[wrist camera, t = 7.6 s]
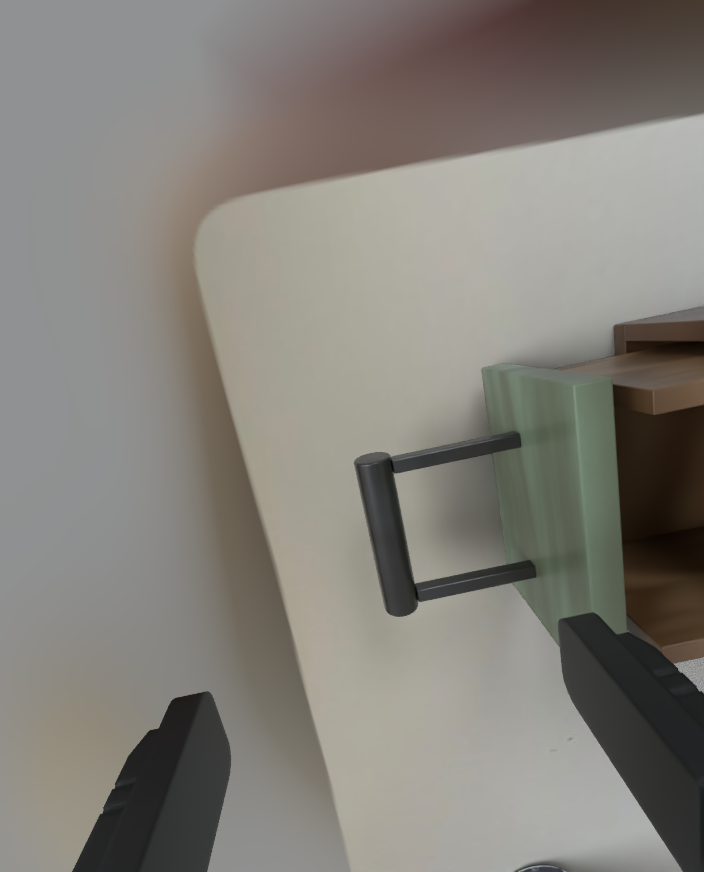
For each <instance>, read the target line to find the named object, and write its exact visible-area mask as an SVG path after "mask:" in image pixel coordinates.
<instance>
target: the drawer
mask: <svg viewBox="0 0 704 872" xmlns="http://www.w3.org/2000/svg"><path fill="white" fill-rule="evenodd" d="M481 370H482V378H483V385H484V393H485V401H486V408H487V416H488V423H489V431H490V436H487V437H482V438H478V439H473V440H468V441H463V442H459V443H454V444H449V445H444V446H440V447H435V448H430V449H425V450H421V451H416V452H411V453H406V454H402V455H397V456H392V457H390V455H389V454H388V453H384V452H375V453H370V454H366V455H363V456H360V457H359V458H357V459H356V460H355V461H354V466H355V470H356V475H357V480H358V484H359V489H360V494H361V498H362V503H363V508H364V513H365V517H366V522H367V527H368V531H369V536H370V541H371V545H372V550H373V555H374V560H375V564H376V569H377V574H378V578H379V583H380V588H381V592H382V597H383V602H384V606H385V610H386V611H387V612H388V613H389V614H390V615H392V616H396V617H402V616H407V615H409V614H411V613H413V612H414V611H415V610H416V609H417V607H418V601H419V602H422V601H427V600H432V599H437V598H441V597H446V596H451V595H456V594H461V593H465V592H470V591H475V590H480V589H484V588H489V587H494V586H499V585H504V584H508V583H513V585H514V586H515V587H516V589H517V590H518V591H519V593H520V594H521V596H522V597H523V598H524V600H525V601H526V602H527V604H528V605H529V606H530V608H531V609H532V610H533V612H534V613H535V614H536V616H537V617H538V619H539V620H540V621H541V623H542V624H543V625H544V627H545V628H546V629H547V631H548V632H549V633H550V635H551V636H552V637H553V639H554V640H555V642H556V643H557V644H558V646H559V647H560V643H559V634H558V621H559V619H562V618H567V617H571V616H576V615H581V614H586V613H590V612H594V613H596V614H597V615H599V616H600V617H601V618H602V619H603V620H604V622H605V623H606V624H607V625H608V626H609V627H610V628H611V629H612V630H613V631H614V632H615V633H616V634H621V633H626V632H627V630H628V631H629V632H630V633H631V634H633V635H635V636H636V637H638V638H640V639H642V640H644V641H645V642H647V643H649V644H651V645H653V646H654V647H656V648H657V649H658V650H659V651H660V652H661V653H662V654H663V655H664V656H665V657H666V658H667V659H668V660H670V661H671V662H672V663H678V662H683V661H688V660H693V659H697V658H702V657H704V341H683V342H679V343H674V344H669V345H664V346H660V347H655V348H650V349H645V350H641V351H636V352H631V353H626V354H622V355H617V356H612V357H607V358H603V359H598V360H593V361H588V362H584V363H579V364H574V365H569V366H565V367H560V368H555V369H545V368H538V367H530V366H523V365H515V364H507V363H502V364H498V365H493V366H488V367H483V368H482V369H481ZM491 453H492V454H493V461H494V469H495V476H496V484H497V492H498V499H499V507H500V514H501V522H502V530H503V537H504V545H505V552H506V560H507V565H502V566H497V567H492V568H488V569H483V570H478V571H473V572H468V573H464V574H459V575H454V576H449V577H445V578H440V579H435V580H430V581H425V582H421V583H416V584H415V583H414V577H413V572H412V567H411V562H410V556H409V551H408V546H407V541H406V536H405V530H404V525H403V520H402V515H401V509H400V504H399V499H398V494H397V488H396V483H395V478H394V473H401V472H406V471H410V470H415V469H420V468H425V467H430V466H434V465H439V464H444V463H449V462H453V461H458V460H463V459H468V458H472V457H477V456H482V455H487V454H491ZM393 471H394V473H393Z"/></svg>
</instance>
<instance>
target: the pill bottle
mask: <svg viewBox="0 0 704 872" xmlns="http://www.w3.org/2000/svg"><path fill="white" fill-rule="evenodd" d="M518 872H566V871H564V870H562V869H560V868H557V867H553V866H546V865H539V866H532V867H528V868H525V869H522V870H520V871H518Z"/></svg>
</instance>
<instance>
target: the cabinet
mask: <svg viewBox="0 0 704 872" xmlns="http://www.w3.org/2000/svg"><path fill="white" fill-rule="evenodd" d="M614 339H615V356H617V355H622V354H626V353H631V352H636V351H641V350H645V349H650V348H655V347H660V346H664V345H669V344H674V343H679V342H683V341H704V306H702V307H697V308H692V309H688V310H683V311H678V312H673V313H669V314H664V315H659V316H654V317H650V318H645V319H640V320H635V321H631V322H626V323H621V324H616V325H614Z"/></svg>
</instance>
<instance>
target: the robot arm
mask: <svg viewBox="0 0 704 872" xmlns="http://www.w3.org/2000/svg"><path fill="white" fill-rule="evenodd" d="M558 634H559V643H560V653H561V663H562V673H563V678H564V682H565V685H566V688H567V691H568V693H569V695H570V698H571V700H572V702H573V703H574V705H575V707H576V708H577V710H578V712H579V713H580V715H581V716H582V718H583V719H584V721H585V722H586V724H587V725H588V727H589V728H590V730H591V731H592V733H593V734H594V736H595V738H596V739H597V741H598V742H599V744H600V745H601V747H602V748H603V750H604V751H605V753H606V754H607V756H608V757H609V759H610V760H611V762H612V764H613V765H614V767H615V768H616V770H617V771H618V773H619V774H620V776H621V777H622V779H623V780H624V782H625V783H626V785H627V786H628V788H629V789H630V791H631V793H632V794H633V796H634V797H635V799H636V800H637V802H638V803H639V805H640V806H641V808H642V809H643V811H644V812H645V814H646V815H647V817H648V819H649V820H650V822H651V823H652V825H653V826H654V828H655V829H656V831H657V832H658V834H659V835H660V837H661V838H662V840H663V841H664V843H665V845H666V846H667V848H668V849H669V851H670V852H671V854H672V855H673V857H674V858H675V860H676V861H677V863H678V864H679V866H680V867H681V869H682V871H683V872H704V693H703V692H702V691H700V692H699V691H698V689H697V687H696V686H695V685H694V684H693V683H692V682H691V681H690V680H689V679H688V678H687V677H686V676H685V675H684V674H683V673H680V672H679V671H678V668H677V667H676V666H675V665H674V664H673V663H672V662H671V661H670V660H668V659H667V658H666V657H665V656H664V655H663V654H662V653H661V652H660V651H659V650H658V649H657V648H656V647H654V646H653V645H651V644H649V643H647V642H645V641H644V640H642V639H640V638H638V637H636V636H635V635H633V634H631V633H629V632H626V633H621V634H616V633H615V632H614V631H613V630H612V629H611V628H610V627H609V626H608V625H607V624H606V623H605V622H604V620H603V619H602V618H601V617H600V616H599V615H597V614H596V613H594V612H590V613H586V614H581V615H576V616H571V617H567V618H562V619H559V621H558ZM230 767H231V754H230V746H229V742H228V739H227V736H226V733H225V730H224V727H223V724H222V722H221V719H220V716H219V713H218V710H217V708H216V705H215V702H214V699H213V697H212V695H211V693H210V692H202V693H197V694H192V695H188V696H183V697H178V698H175V699H173V700H172V701H171V703H170V705H169V706H168V709H167V711H166V713H165V715H164V718H163V720H162V722H161V724H160V727H159V729H154V730H150V731H149V732H148V733H147V734H146V735H145V736H144V738H143V739H142V740H141V741H140V743H139V744H138V745H137V746H136V748H135V749H134V750H133V751H132V752H131V754H130V755H129V756H128V758H127V760H126V762H125V765H124V766H123V768H122V770H121V773H120V775H119V777H118V779H117V781H116V783H115V789H112V791H111V793H110V795H109V797H108V799H107V801H106V803H105V805H104V807H103V808H104V811H103V814H100V816H99V818H98V820H97V822H96V824H95V826H94V828H93V830H92V832H91V834H90V836H89V838H88V841H87V842H86V844H85V846H84V849H83V851H82V853H81V855H80V857H79V859H78V861H77V863H76V865H75V868H74V869H73V871H72V872H207V870H208V865H209V861H210V857H211V852H212V848H213V844H214V840H215V836H216V831H217V827H218V823H219V819H220V814H221V810H222V806H223V802H224V797H225V793H226V789H227V785H228V780H229V776H230Z"/></svg>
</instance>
